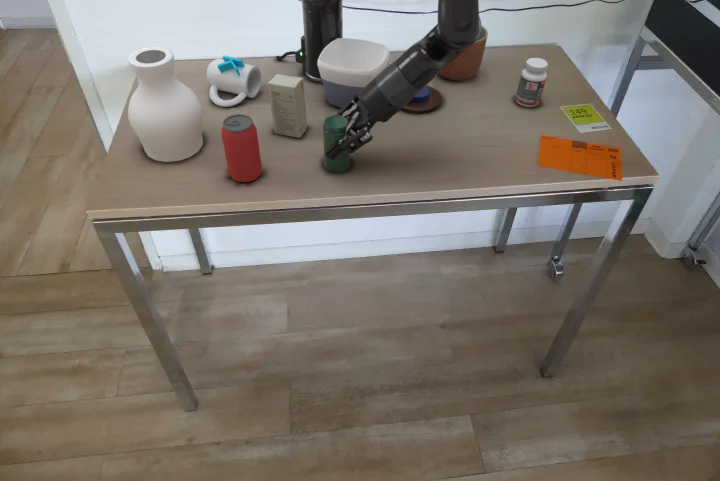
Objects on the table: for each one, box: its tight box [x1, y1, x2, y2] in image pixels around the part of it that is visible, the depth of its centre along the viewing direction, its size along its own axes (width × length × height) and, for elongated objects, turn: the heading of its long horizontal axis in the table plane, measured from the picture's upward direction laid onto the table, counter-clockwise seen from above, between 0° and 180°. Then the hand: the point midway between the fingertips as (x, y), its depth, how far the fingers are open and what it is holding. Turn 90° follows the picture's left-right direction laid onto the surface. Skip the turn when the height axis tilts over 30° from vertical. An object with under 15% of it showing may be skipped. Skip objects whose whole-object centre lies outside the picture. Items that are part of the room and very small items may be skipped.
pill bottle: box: [515, 57, 548, 108], centre depth 130 cm, size 6×6×10 cm
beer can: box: [221, 113, 263, 183], centre depth 108 cm, size 7×7×12 cm
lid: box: [410, 85, 430, 103], centre depth 132 cm, size 6×6×2 cm
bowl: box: [317, 37, 391, 109], centre depth 129 cm, size 15×15×11 cm
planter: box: [438, 25, 489, 81], centre depth 139 cm, size 12×12×11 cm
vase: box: [127, 46, 204, 163], centre depth 112 cm, size 14×14×20 cm
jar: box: [322, 114, 351, 173], centre depth 111 cm, size 5×5×10 cm
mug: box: [206, 55, 263, 108], centre depth 130 cm, size 12×9×12 cm
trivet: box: [400, 85, 443, 114], centre depth 133 cm, size 12×12×1 cm
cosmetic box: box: [267, 73, 308, 139], centre depth 119 cm, size 6×4×12 cm
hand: (327, 147), depth 112 cm, fingers closed on jar, 5 cm apart
